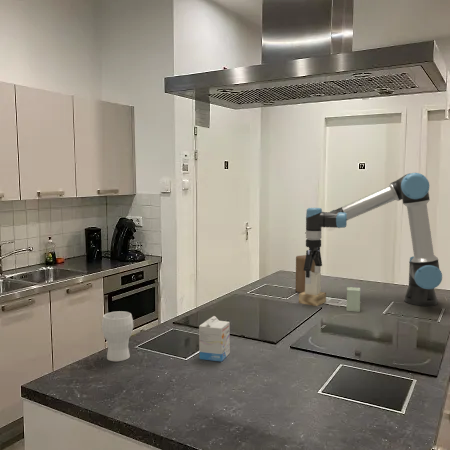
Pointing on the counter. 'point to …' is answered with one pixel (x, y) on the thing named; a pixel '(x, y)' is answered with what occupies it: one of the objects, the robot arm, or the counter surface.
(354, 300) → the sage block
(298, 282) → the wooden block
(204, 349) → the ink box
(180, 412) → the counter surface
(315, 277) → the cream block
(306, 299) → the oak base
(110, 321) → the cup
